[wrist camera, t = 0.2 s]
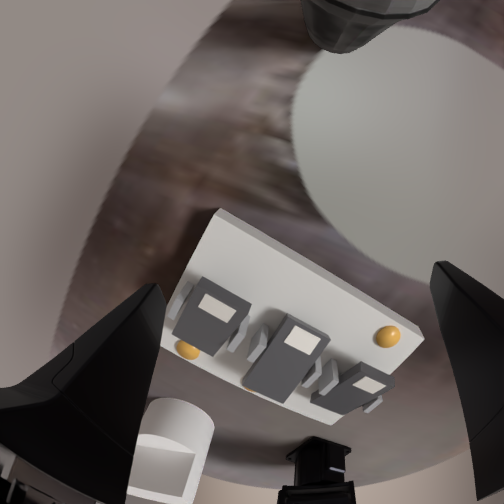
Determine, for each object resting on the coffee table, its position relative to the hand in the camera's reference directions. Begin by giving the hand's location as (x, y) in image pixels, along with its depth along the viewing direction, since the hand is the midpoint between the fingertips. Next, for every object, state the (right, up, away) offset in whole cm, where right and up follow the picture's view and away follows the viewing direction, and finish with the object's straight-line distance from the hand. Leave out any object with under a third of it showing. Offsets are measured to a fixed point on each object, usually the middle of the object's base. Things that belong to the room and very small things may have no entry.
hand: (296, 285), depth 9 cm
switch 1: (-5, -4, +14) cm, 16 cm away
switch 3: (+7, -11, +15) cm, 20 cm away
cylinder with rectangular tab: (-10, -20, +26) cm, 35 cm away
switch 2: (+1, -8, +15) cm, 17 cm away
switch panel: (+2, -6, +18) cm, 19 cm away
